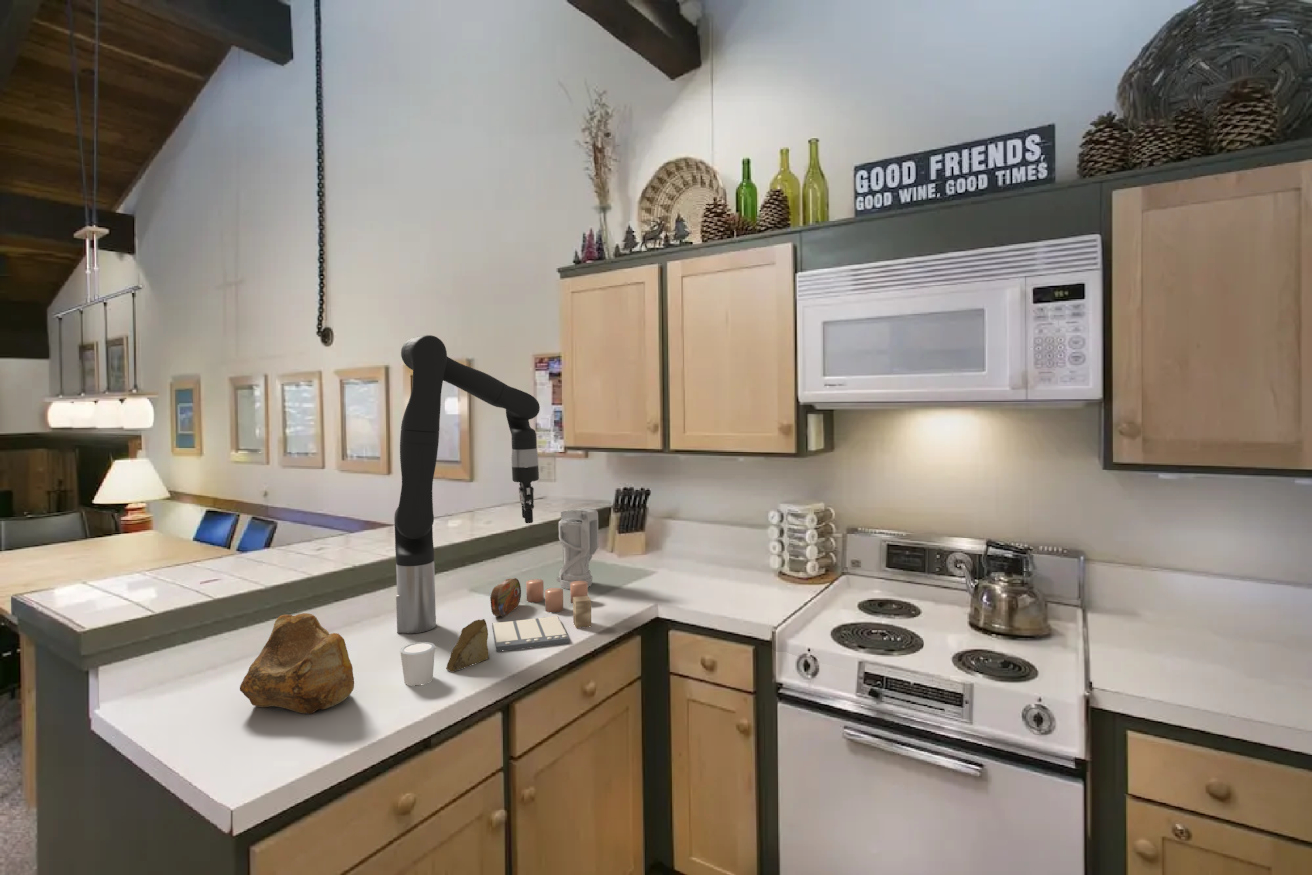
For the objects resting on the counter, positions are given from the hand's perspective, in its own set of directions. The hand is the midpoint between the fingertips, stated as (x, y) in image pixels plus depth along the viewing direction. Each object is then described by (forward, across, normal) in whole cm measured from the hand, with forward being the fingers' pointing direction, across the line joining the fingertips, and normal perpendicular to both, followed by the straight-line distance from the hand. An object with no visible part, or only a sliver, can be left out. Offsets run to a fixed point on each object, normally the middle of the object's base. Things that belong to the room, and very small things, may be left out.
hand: (527, 520), depth 185 cm
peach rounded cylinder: (+24, -2, +1) cm, 24 cm away
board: (+24, +27, -3) cm, 36 cm away
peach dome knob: (+24, +9, +6) cm, 26 cm away
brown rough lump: (+23, +49, -51) cm, 74 cm away
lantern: (+25, -12, +16) cm, 32 cm away
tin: (+24, +6, -8) cm, 26 cm away
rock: (+24, +40, -18) cm, 50 cm away
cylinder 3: (+24, +4, +14) cm, 28 cm away
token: (+24, +24, +11) cm, 36 cm away
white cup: (+24, +46, -28) cm, 59 cm away
